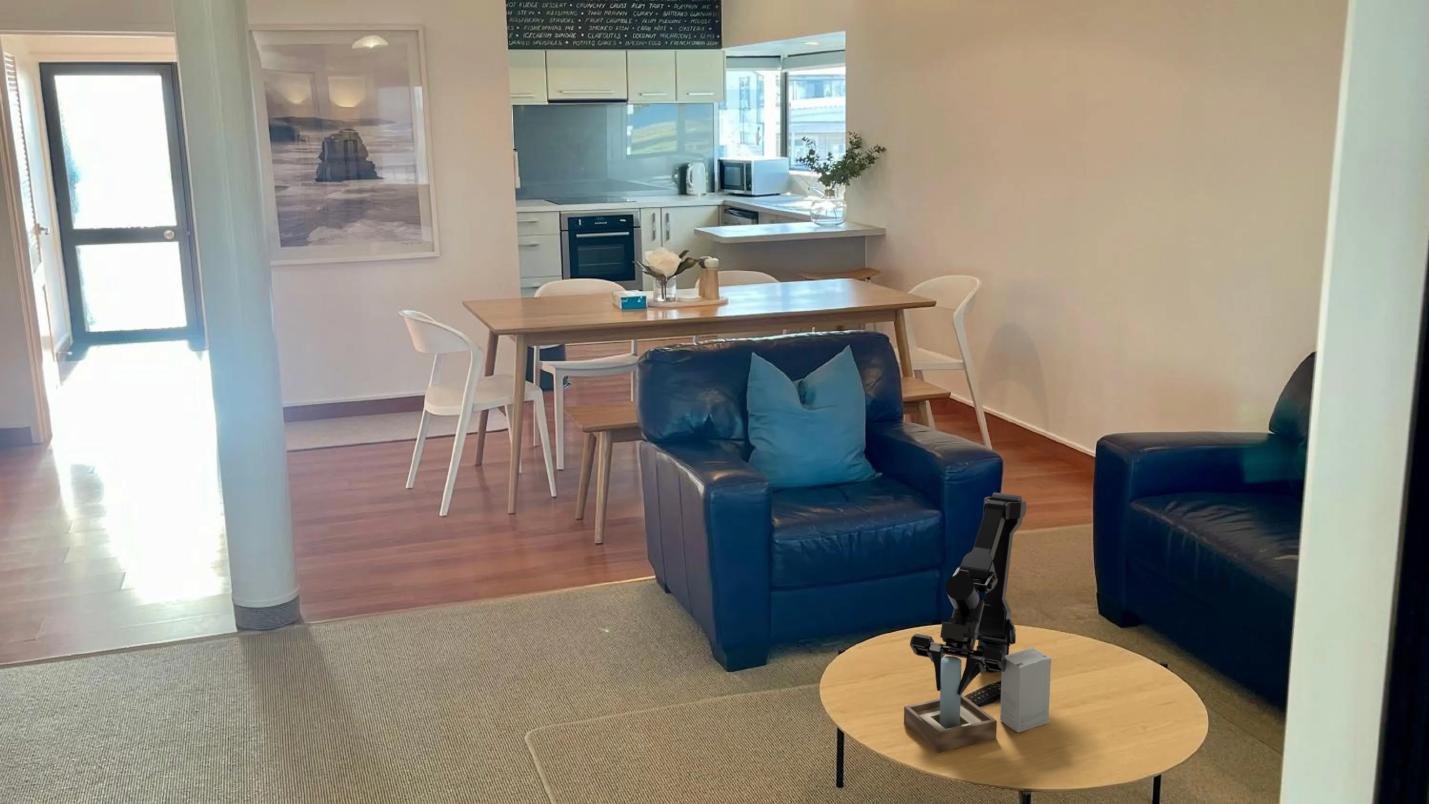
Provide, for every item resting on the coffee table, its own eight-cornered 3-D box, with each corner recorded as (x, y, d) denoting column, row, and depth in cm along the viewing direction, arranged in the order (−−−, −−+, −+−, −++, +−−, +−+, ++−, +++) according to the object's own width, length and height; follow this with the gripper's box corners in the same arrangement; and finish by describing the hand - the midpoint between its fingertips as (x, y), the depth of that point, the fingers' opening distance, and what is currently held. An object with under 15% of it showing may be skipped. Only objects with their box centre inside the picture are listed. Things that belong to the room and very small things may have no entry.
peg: (946, 717, 239) (948, 654, 236) (963, 724, 237) (965, 660, 234) (935, 725, 237) (937, 660, 233) (952, 731, 234) (954, 666, 231)
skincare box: (1030, 712, 244) (1033, 645, 241) (1050, 724, 239) (1053, 656, 235) (997, 721, 240) (1000, 654, 237) (1017, 734, 235) (1020, 665, 232)
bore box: (960, 710, 245) (960, 693, 244) (996, 738, 234) (996, 720, 233) (903, 723, 240) (904, 706, 239) (937, 752, 229) (938, 734, 228)
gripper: (913, 596, 239) (894, 668, 232) (1005, 612, 230) (988, 687, 223) (924, 618, 247) (906, 688, 240) (1013, 634, 239) (997, 707, 232)
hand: (948, 692), depth 234 cm, fingers closed on peg, 4 cm apart
